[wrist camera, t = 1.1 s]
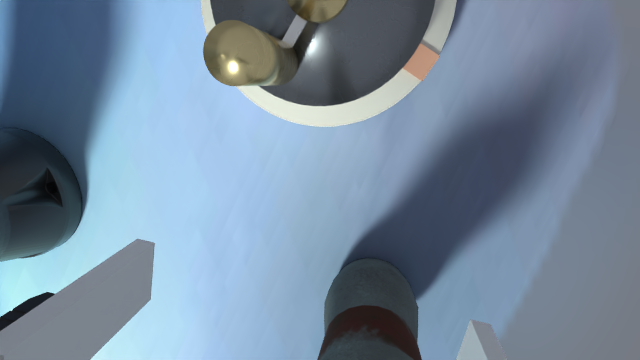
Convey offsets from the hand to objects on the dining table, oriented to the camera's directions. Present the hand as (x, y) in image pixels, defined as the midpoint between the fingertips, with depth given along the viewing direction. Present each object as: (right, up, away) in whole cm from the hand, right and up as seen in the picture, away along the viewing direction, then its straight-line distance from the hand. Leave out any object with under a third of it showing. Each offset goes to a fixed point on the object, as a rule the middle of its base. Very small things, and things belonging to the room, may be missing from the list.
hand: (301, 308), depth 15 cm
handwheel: (+1, +21, +16) cm, 26 cm away
